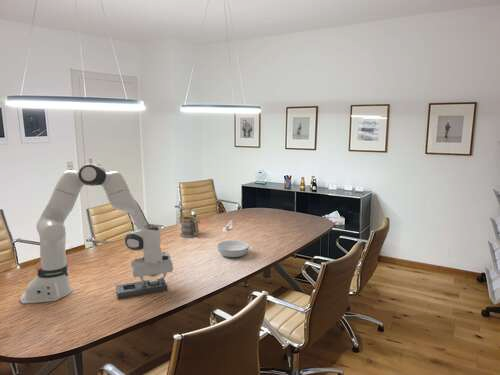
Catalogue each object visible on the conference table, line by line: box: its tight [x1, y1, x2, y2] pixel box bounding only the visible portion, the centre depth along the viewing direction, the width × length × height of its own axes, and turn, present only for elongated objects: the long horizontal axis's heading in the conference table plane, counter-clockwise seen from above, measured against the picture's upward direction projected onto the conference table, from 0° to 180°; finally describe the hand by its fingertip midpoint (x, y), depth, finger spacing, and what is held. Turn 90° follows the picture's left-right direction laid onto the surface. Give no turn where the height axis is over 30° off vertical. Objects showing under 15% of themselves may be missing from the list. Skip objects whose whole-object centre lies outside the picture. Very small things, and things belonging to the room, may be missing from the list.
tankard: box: [179, 216, 201, 239], centre depth 282 cm, size 20×13×15 cm, turn 43°
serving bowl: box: [216, 239, 250, 258], centre depth 242 cm, size 21×21×7 cm
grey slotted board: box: [115, 277, 168, 300], centre depth 189 cm, size 24×10×3 cm, turn 113°
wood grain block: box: [148, 277, 158, 286], centre depth 191 cm, size 4×4×5 cm
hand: (153, 282), depth 191 cm, fingers open, 8 cm apart
